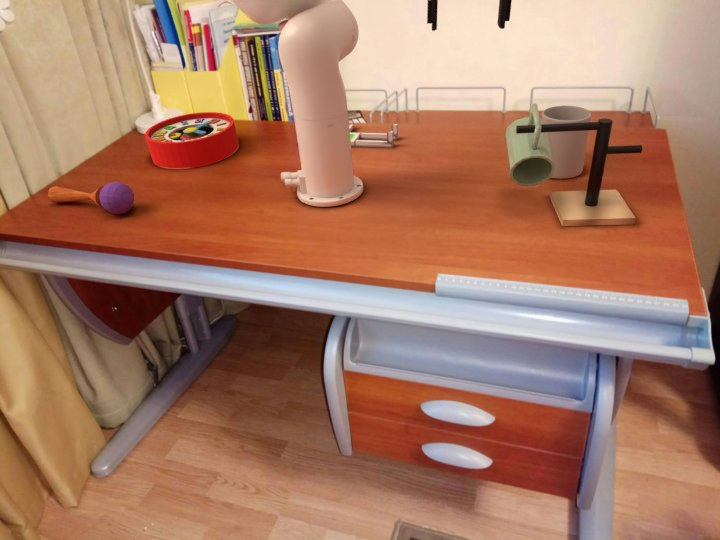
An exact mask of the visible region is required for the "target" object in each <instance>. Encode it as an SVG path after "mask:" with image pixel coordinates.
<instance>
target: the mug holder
mask: <svg viewBox="0 0 720 540" xmlns="http://www.w3.org/2000/svg"><path fill="white" fill-rule="evenodd" d="M613 122H614V121H613V119H611V118H605V117H604V118H599V119H598V121H590V122H584V123H563V124H541V133H543V132H565V131H587V130H589V131H595V138H594V143H593V144H594V145H593V151H592V156H591V162H590V167H589V173H588V181H587V186H586V190H584V189H583V190H559V191H557V190H556V191H553V190H552V191H550V192H549V193H550V194H549V199H550V202H551V204H552V206H553V208H554V210H555V213H556V215H557V218H558V220H559V222H560V224H561V227H587V226H588V227H589V226H619V225H620V226H622V225H623V226H627V225H635V223H636V218H637V217H636V216H635V214H634V213H633V212H632V210H631V208H630V207H629V205H628V204H627V203H626V201H625V199H624V198H623V196H622V194H620V192H619V191H618V189H615V188H614V189H602V188H601V187H602V182H603V176H604V172H605V166H606V160H607V155H622V154H623V155H624V154H641V153H643V145H642V144H634V145H632V144H631V145H610V146H609V143H610V138H611V134H612V127H613ZM534 132H535V125H520V126H516V133H517V134H521V133H534Z"/></svg>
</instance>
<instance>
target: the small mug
mask: <svg viewBox="0 0 720 540" xmlns="http://www.w3.org/2000/svg"><path fill="white" fill-rule="evenodd" d="M541 124H545V122H544V121H543V120H541V117H540V113H539V108H538V103H535V102H534V103H532V104H531V106H530V111H529V116H523V117H521V118H520V117H519V118H518V119H516V120H514V121H513V122H511V123H510V124H509V125H508V126H507V128H506V129H505V132H504V143H505V150H506V158H507V166H508V171H509V172H508V175H509V177H510V179H511V181H512V182H513V183H515V184H516V185H519V186H522V187H534V186H537V185H538V186H539V185H542V184H544V183H545V182H547V181H548V180H550V179H551V178H550V177H551V176H552V175H553V174H554V170H555V164H554V159H553V154H552V149H551V144H550V139H549V133H548V132H543V133H541ZM520 125H535V132H534V133H521V134H517V133H516V126H520Z"/></svg>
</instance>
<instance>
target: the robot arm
mask: <svg viewBox="0 0 720 540" xmlns="http://www.w3.org/2000/svg"><path fill="white" fill-rule="evenodd" d="M230 1H231V2H232V3H233V4H234V5H235V6H236V7H237V9H239V10H240V11H241V12H242V13H243V14H244V15H245V16H246V17H247V18H248V19H249V20H251V22H253V23H255V24H258V25H261V26H267V25H272V24H275V23H278V22H281V21H283V20H284V19H286V20H287V22H286V23H285V24H284V26H283V27H282V29H281V32H280V34H279V38H278V45H277V48H278V49H277V50H278V56H279V57H278V58H279V61H280V64H281V68H282V70H283V73H284V76H285V79H286V84H287V87H288V91H289V96H290V102H291V109H292V114H293V121H294V128H295V134H296V135H295V136H296V140H297V146H298V147H297V148H298V153H299V160H300V167H301V169H298V170H297V171H293V172H292V171H281V172H280V181H281V183H284V186H285V187H297V188H296V195H297V198H298V200H299V201H300V202H301V203H303V204H306V205H309V206H313V207H317V208H319V207H320V208H325V207H326V208H328V207H337V206H343V205H345V204H348V203H350V202H352V201H354V200H356V199H357V198H359V197H360V196H361V195H362V194H363V191H364V183H363V181H362V179H361V178H359V177H358V176H357V175H355V173H354V172H355V171H354V161H353V152H352V146H351V140H350V130H349V124H350V119H349V111H348V100H347V93H346V88H345V84H344V80H343V78H342V74H341V71H340V65H339V63H340V62H341V61H342V60H343V59H345V58H346V57H348V56H349V55H350V54H351V53H352V52H353V51H354V49H355V48H356V46H357V44H358V41H359V37H360V36H359V35H360V33H359V31H360V30H359V24H358V21H357V19H356V17H355V15H354V14H353V12H352V10H351V8H349V6H348V5H347V4H346V3H345V2H344V1H343V0H230ZM438 1H439V0H427V13H426V15H427V16H426V24H431V31H432V32H435V31H437V29H438V6H439V5H438V4H439V3H438ZM512 1H513V0H499V1H498V11H497V12H498V14H497V26H498V28H499V29H500V30H505V27H506V22H510V19H511V10H512Z"/></svg>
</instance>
